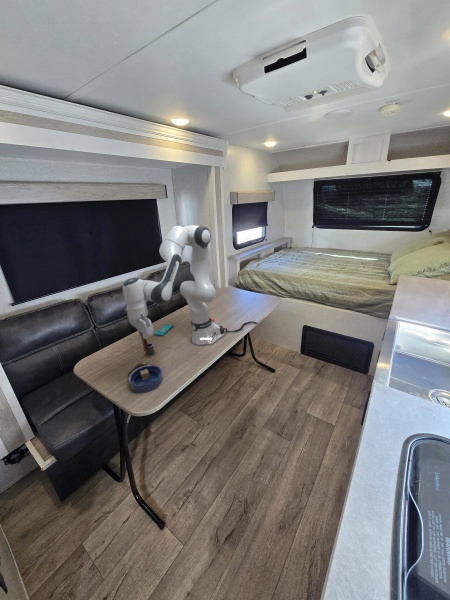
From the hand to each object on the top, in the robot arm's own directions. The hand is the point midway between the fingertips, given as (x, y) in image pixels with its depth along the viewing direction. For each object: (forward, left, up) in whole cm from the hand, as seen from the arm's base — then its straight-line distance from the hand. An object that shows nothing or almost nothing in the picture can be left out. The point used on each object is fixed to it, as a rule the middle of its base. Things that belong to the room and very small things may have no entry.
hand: (143, 337), depth 119 cm
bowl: (+5, +5, -22) cm, 23 cm away
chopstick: (0, 0, -8) cm, 8 cm away
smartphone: (-28, -38, -22) cm, 52 cm away
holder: (-8, -18, -22) cm, 30 cm away
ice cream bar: (+3, -8, -23) cm, 24 cm away
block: (+4, +2, -22) cm, 22 cm away
